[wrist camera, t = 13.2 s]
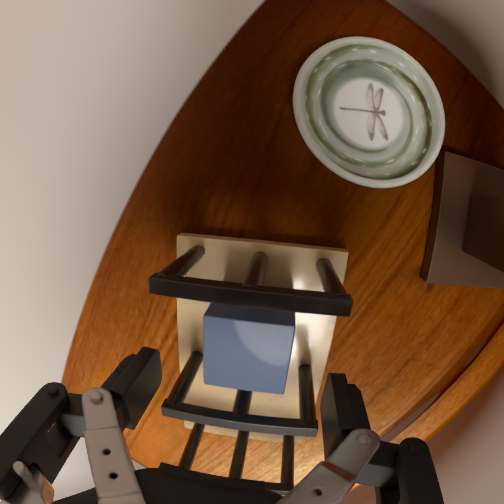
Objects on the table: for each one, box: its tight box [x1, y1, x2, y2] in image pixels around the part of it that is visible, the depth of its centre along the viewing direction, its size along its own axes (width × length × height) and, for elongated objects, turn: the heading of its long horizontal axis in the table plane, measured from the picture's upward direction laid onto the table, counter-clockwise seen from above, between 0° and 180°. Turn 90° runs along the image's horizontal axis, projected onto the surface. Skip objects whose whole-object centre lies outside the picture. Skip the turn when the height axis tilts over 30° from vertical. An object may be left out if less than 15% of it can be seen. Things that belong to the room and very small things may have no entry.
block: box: [203, 303, 296, 394], centre depth 17 cm, size 5×5×5 cm
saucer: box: [293, 37, 445, 188], centre depth 15 cm, size 10×10×2 cm
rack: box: [149, 233, 353, 495], centre depth 18 cm, size 18×11×7 cm, turn 175°
